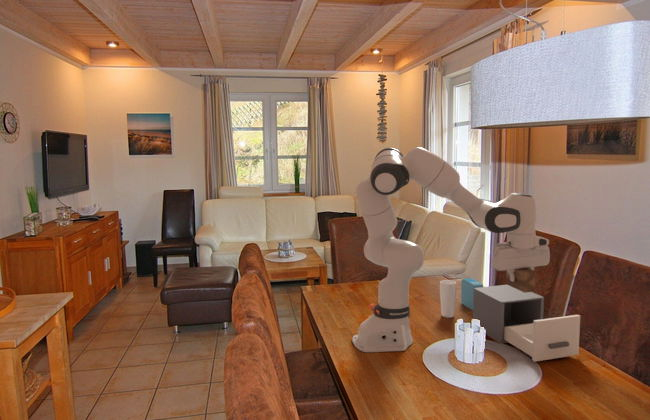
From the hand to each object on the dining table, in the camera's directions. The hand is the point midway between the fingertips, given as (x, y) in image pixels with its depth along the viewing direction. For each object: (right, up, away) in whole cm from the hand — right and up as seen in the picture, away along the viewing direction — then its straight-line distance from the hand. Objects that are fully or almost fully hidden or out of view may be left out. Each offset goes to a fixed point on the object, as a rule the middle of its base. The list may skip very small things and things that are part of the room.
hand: (520, 280), depth 155 cm
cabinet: (+4, -23, +21) cm, 32 cm away
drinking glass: (-14, -22, +39) cm, 47 cm away
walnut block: (0, -3, 0) cm, 3 cm away
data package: (0, -20, +50) cm, 54 cm away
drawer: (+8, -24, +4) cm, 26 cm away
